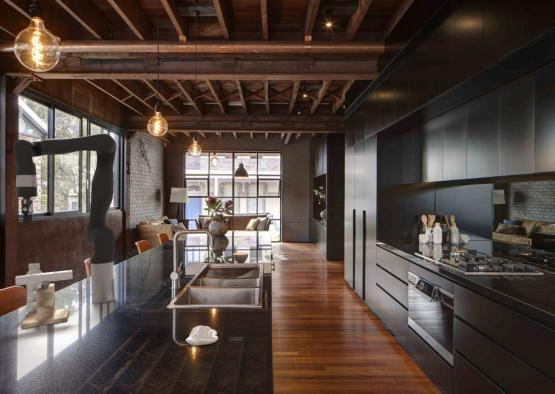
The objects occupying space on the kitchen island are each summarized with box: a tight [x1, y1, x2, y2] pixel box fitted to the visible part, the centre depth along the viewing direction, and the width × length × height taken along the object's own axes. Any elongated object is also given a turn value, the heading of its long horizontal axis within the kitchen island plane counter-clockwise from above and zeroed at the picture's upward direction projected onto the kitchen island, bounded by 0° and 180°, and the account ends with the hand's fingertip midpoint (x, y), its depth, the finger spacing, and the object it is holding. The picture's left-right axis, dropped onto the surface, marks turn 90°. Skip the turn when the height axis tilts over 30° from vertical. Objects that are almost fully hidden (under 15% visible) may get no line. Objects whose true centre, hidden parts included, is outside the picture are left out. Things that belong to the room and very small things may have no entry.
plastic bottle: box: [25, 262, 43, 314], centre depth 149 cm, size 6×7×20 cm
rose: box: [185, 325, 219, 346], centre depth 111 cm, size 10×4×10 cm
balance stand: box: [20, 282, 70, 330], centre depth 138 cm, size 14×14×14 cm
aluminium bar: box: [14, 269, 73, 286], centre depth 138 cm, size 18×3×3 cm, turn 118°
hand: (27, 223), depth 157 cm, fingers open, 8 cm apart
